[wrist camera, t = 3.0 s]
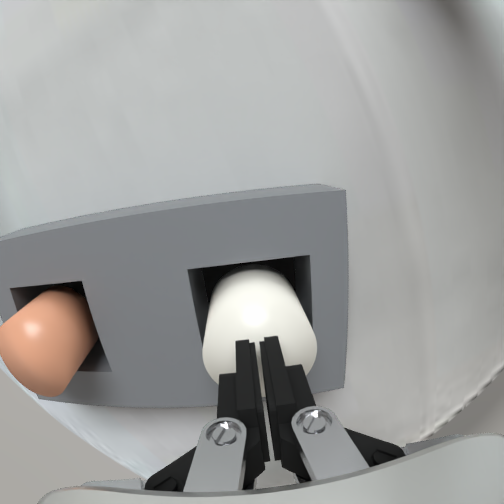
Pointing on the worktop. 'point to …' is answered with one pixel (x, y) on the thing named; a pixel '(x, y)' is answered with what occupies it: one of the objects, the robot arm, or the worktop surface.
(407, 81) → the worktop surface
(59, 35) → the worktop surface
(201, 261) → the grey two-hole block
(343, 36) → the worktop surface
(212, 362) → the ivory button
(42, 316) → the terracotta button
